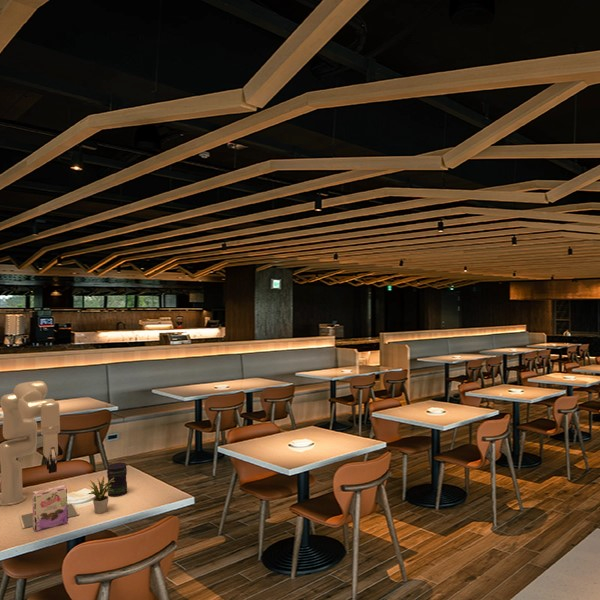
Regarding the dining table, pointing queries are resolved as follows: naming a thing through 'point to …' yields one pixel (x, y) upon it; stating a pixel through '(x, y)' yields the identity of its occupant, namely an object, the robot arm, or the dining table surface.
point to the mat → (28, 518)
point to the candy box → (50, 508)
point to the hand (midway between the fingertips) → (51, 470)
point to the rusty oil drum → (117, 479)
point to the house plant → (100, 496)
